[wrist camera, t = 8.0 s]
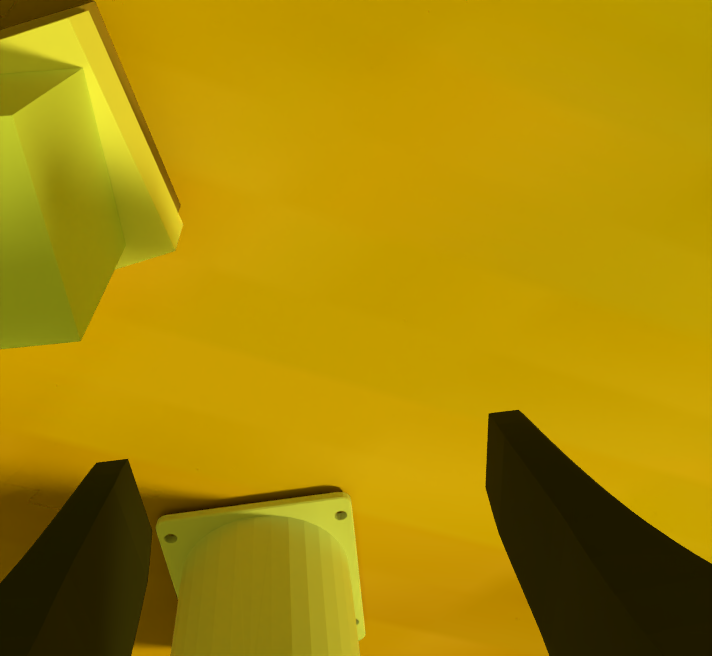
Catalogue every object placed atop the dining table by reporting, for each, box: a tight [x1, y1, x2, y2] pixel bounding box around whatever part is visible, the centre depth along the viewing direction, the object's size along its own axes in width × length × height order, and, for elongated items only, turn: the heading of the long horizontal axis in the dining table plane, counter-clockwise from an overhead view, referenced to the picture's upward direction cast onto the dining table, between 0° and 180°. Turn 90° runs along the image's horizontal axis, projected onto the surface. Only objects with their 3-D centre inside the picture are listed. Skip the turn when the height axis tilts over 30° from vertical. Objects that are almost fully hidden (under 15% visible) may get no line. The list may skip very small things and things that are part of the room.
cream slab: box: [0, 10, 183, 269], centre depth 18 cm, size 6×6×2 cm
